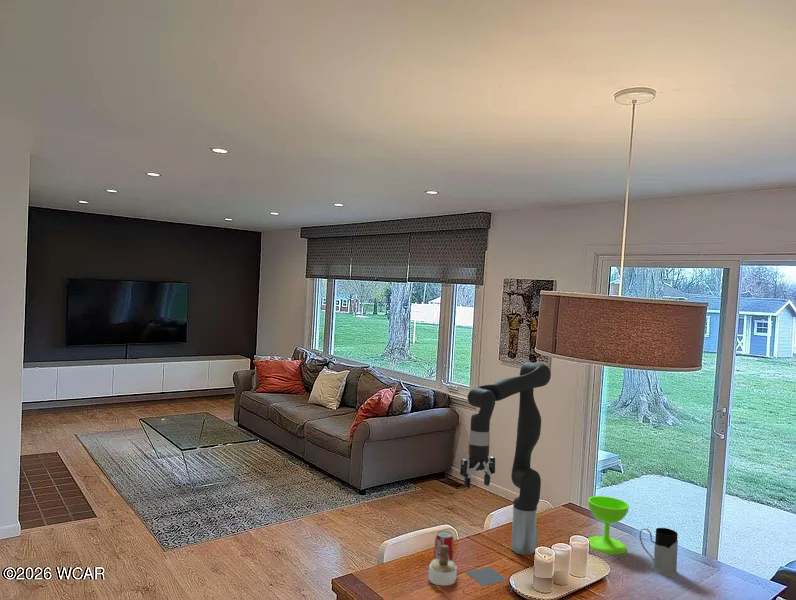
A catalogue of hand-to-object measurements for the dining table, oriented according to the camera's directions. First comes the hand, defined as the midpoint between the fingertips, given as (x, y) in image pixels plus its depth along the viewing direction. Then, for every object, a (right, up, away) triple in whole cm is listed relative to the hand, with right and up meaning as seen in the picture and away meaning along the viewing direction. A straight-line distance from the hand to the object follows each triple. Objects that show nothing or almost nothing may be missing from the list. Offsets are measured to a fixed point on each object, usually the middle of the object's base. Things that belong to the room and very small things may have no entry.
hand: (477, 486), depth 210 cm
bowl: (-14, -29, -11) cm, 34 cm away
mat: (+2, -30, -7) cm, 31 cm away
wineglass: (+58, -34, +26) cm, 72 cm away
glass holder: (+70, -34, +7) cm, 78 cm away
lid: (-14, -25, -11) cm, 30 cm away
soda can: (-13, -30, -1) cm, 32 cm away
